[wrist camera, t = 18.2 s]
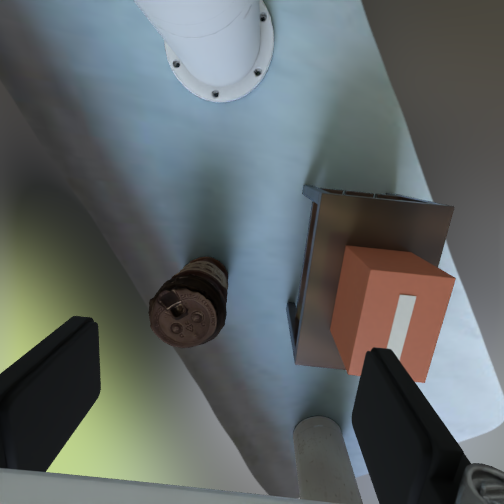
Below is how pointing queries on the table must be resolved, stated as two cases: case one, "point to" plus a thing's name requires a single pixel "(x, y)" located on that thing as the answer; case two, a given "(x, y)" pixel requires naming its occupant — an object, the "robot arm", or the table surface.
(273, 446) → the table surface
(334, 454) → the thermos bottle
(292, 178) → the table surface
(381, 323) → the tissue box
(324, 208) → the slatted side table
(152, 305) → the coffee cup
